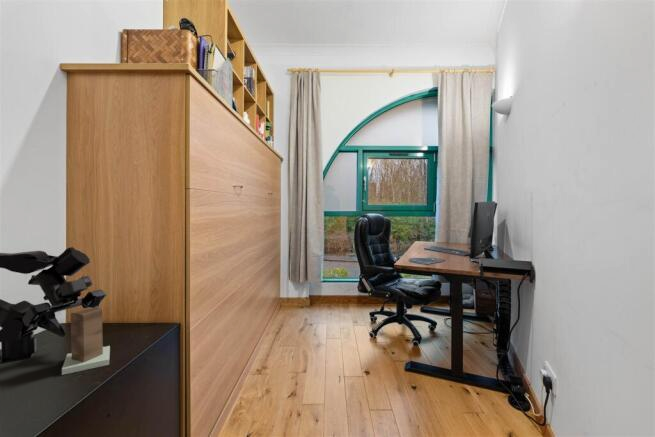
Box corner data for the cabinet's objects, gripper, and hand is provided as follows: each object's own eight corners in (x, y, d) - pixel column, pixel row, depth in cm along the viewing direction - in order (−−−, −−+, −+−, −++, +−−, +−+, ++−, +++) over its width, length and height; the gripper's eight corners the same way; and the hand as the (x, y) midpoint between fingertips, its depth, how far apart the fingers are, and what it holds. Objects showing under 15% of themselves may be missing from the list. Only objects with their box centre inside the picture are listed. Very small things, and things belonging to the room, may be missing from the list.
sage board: (61, 375, 82) (61, 369, 82) (67, 359, 90) (67, 353, 90) (108, 364, 87) (108, 359, 87) (109, 350, 95) (109, 345, 95)
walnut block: (71, 359, 87) (70, 312, 86) (90, 351, 92) (89, 307, 91) (84, 362, 85) (83, 314, 85) (102, 354, 90) (102, 309, 89)
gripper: (28, 275, 81) (57, 324, 78) (101, 263, 98) (127, 302, 95) (10, 302, 84) (37, 350, 81) (84, 285, 101) (109, 324, 98)
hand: (82, 329), depth 89 cm, fingers open, 9 cm apart
